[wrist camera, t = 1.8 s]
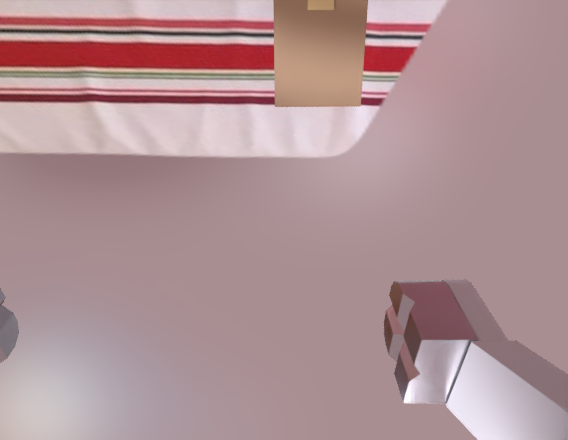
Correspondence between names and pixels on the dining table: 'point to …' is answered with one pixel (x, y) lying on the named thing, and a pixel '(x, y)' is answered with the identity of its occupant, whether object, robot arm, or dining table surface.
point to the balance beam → (319, 52)
